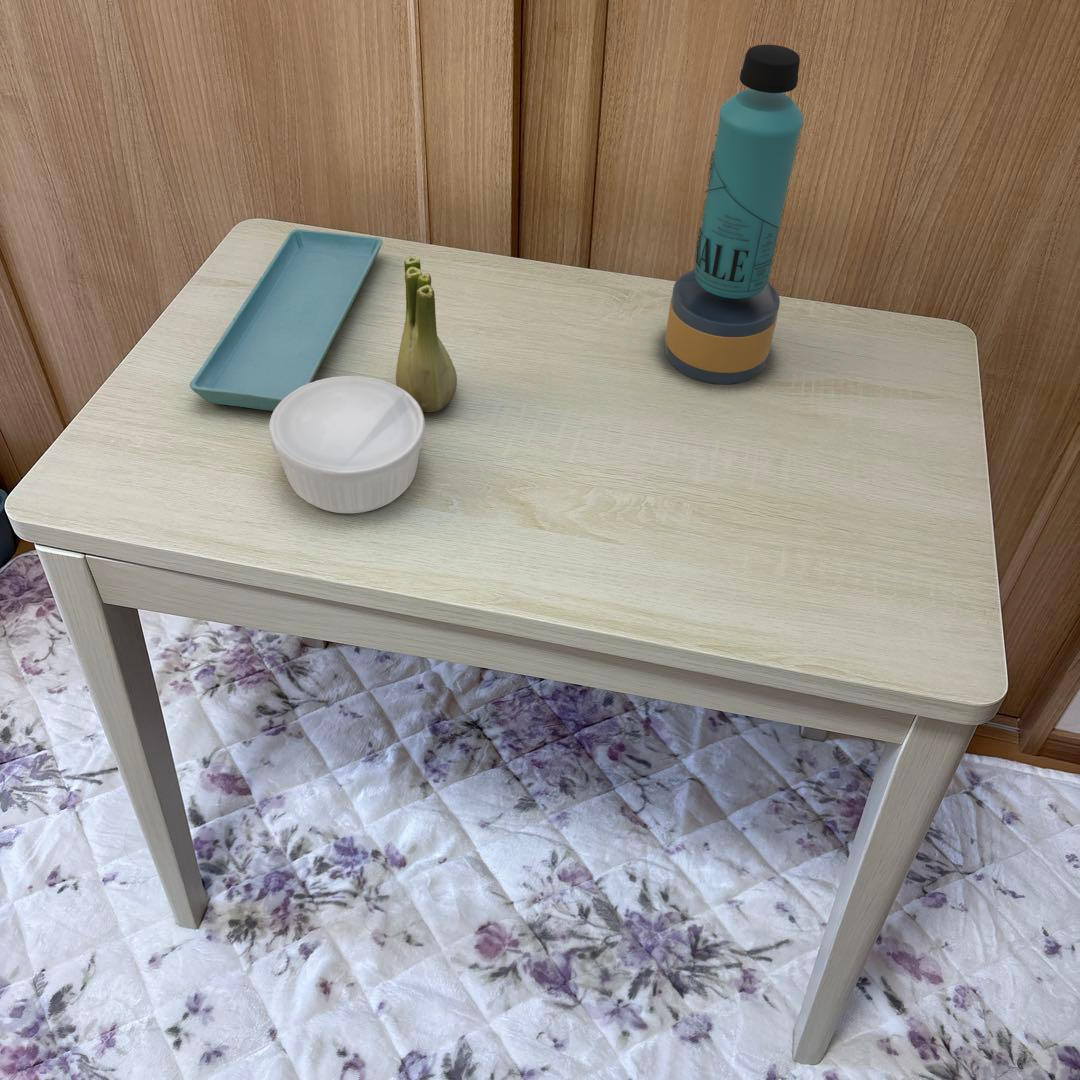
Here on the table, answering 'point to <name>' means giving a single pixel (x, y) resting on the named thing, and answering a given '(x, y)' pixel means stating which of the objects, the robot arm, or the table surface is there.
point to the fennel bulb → (423, 345)
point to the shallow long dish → (287, 320)
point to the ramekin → (348, 442)
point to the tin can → (719, 332)
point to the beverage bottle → (750, 176)
